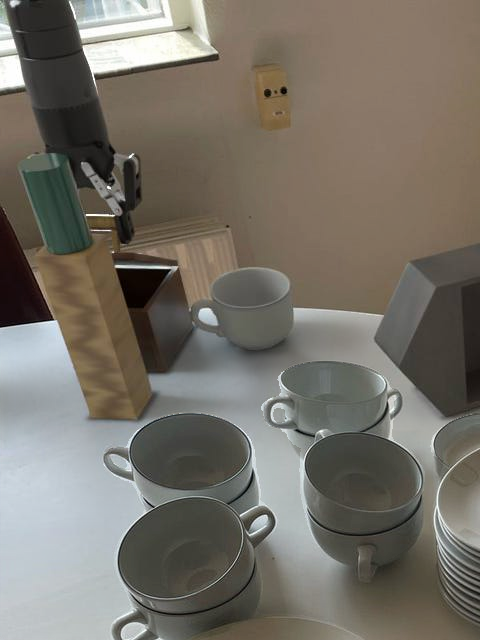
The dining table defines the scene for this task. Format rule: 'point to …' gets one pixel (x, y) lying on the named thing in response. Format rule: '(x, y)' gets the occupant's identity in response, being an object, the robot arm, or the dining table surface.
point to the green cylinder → (56, 203)
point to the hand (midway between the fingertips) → (105, 241)
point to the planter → (438, 328)
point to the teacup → (249, 307)
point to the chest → (156, 312)
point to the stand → (97, 329)
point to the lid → (119, 257)
